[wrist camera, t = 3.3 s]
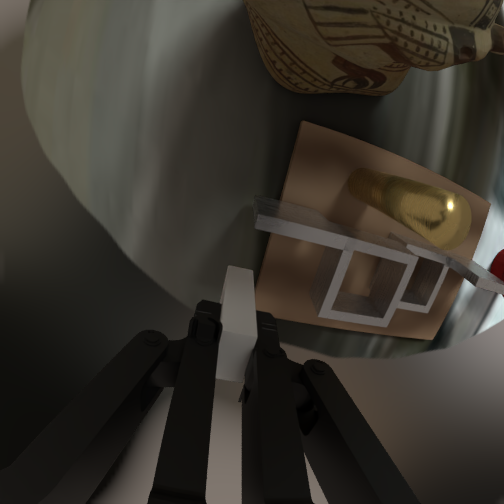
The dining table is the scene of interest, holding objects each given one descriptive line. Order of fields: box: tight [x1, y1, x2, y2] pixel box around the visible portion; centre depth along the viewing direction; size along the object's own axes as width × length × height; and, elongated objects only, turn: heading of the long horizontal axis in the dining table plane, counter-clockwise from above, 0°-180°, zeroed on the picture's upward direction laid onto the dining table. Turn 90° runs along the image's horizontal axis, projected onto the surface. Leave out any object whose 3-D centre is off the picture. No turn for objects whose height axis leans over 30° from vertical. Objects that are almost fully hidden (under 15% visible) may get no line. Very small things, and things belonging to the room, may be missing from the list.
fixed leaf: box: [369, 232, 504, 313], centre depth 26 cm, size 7×14×8 cm, turn 76°
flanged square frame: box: [253, 195, 419, 327], centre depth 24 cm, size 7×13×8 cm, turn 76°
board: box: [254, 121, 491, 340], centre depth 29 cm, size 20×26×1 cm
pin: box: [348, 168, 472, 250], centre depth 19 cm, size 3×3×14 cm
